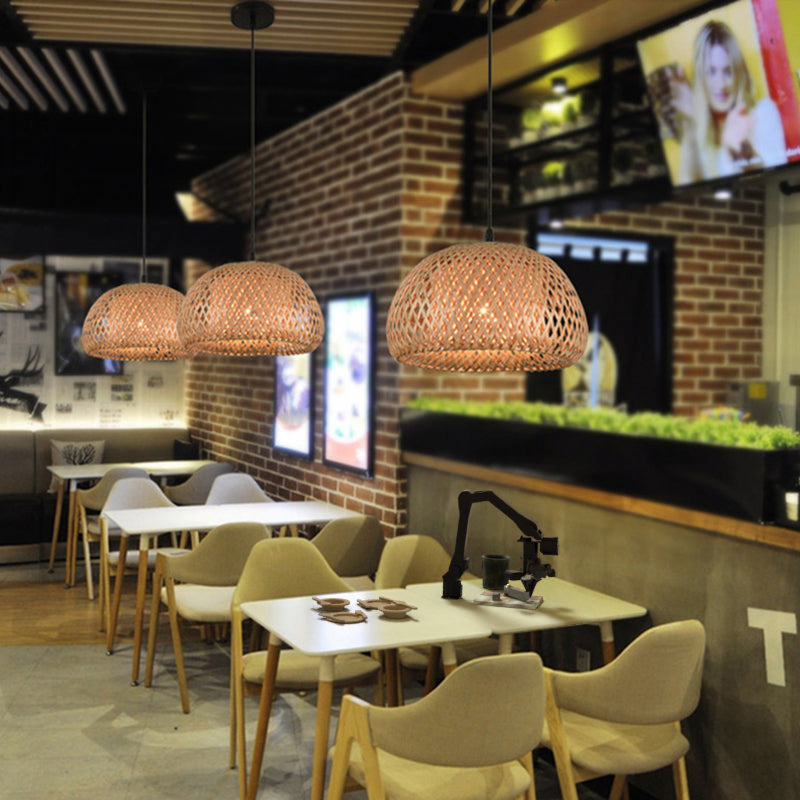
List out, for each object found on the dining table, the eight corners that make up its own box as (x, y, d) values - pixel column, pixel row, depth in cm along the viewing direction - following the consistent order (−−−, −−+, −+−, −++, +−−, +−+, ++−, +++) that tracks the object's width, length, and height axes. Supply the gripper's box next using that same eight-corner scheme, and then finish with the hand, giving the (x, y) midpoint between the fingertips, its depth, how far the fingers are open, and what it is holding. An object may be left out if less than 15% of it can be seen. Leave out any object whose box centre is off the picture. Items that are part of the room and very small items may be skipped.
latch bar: (501, 593, 378) (502, 584, 378) (509, 593, 380) (510, 583, 380) (522, 600, 367) (522, 590, 367) (530, 600, 368) (530, 590, 368)
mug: (491, 591, 390) (492, 559, 390) (470, 584, 403) (471, 553, 403) (515, 589, 396) (516, 558, 395) (493, 582, 408) (494, 552, 408)
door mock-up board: (473, 603, 367) (473, 593, 367) (484, 594, 384) (484, 585, 384) (534, 609, 361) (535, 599, 361) (542, 599, 378) (543, 590, 378)
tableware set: (391, 601, 370) (391, 589, 370) (428, 619, 344) (428, 606, 344) (299, 607, 355) (299, 596, 355) (330, 626, 329) (330, 614, 329)
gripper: (520, 560, 359) (519, 604, 359) (564, 556, 367) (564, 599, 367) (503, 554, 369) (503, 598, 369) (547, 551, 377) (546, 593, 377)
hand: (529, 597), depth 370 cm, fingers closed
